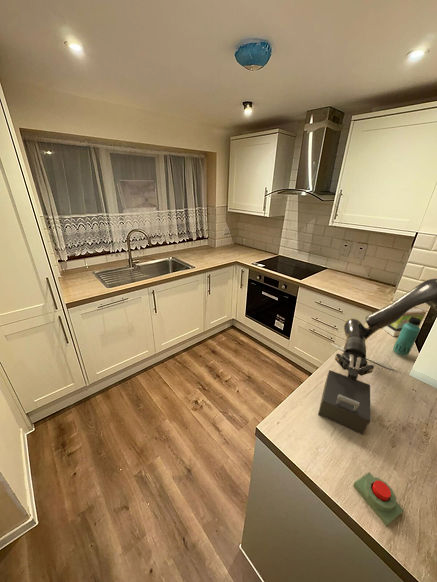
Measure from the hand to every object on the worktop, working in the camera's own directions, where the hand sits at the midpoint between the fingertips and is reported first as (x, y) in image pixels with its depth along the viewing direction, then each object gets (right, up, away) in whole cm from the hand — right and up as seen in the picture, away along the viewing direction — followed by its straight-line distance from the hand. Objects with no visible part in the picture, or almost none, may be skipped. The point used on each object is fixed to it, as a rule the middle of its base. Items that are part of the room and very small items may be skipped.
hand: (352, 377), depth 79 cm
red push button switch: (-5, -24, -19) cm, 31 cm away
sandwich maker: (-1, -13, +6) cm, 14 cm away
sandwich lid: (-1, -7, +3) cm, 8 cm away
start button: (-5, -21, -20) cm, 30 cm away
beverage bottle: (+42, -1, +34) cm, 54 cm away
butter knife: (+21, -1, +32) cm, 38 cm away
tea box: (+55, +7, +53) cm, 77 cm away
